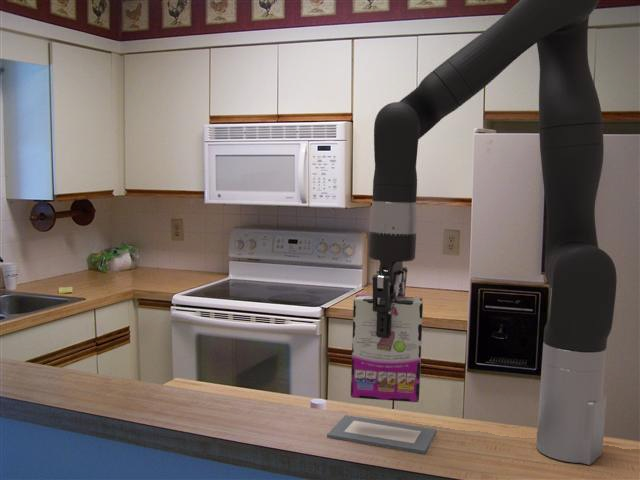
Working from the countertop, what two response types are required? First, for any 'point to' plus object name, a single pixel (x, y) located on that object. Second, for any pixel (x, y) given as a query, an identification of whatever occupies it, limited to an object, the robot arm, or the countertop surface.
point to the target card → (383, 434)
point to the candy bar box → (387, 351)
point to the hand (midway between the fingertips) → (388, 333)
